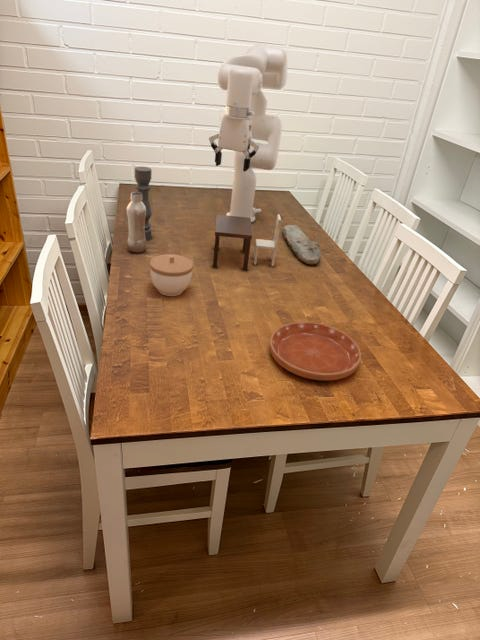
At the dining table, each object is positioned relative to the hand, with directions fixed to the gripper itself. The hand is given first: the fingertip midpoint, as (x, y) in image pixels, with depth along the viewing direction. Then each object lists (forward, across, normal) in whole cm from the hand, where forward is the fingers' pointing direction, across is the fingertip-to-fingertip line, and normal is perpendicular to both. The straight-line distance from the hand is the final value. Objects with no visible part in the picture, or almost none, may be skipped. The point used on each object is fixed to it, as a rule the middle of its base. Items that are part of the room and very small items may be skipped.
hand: (231, 167), depth 158 cm
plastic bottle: (+30, +26, +17) cm, 43 cm away
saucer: (+30, -44, +51) cm, 74 cm away
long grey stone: (+30, -24, -19) cm, 43 cm away
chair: (+30, -16, +2) cm, 34 cm away
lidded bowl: (+30, +3, +37) cm, 48 cm away
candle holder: (+30, +30, +6) cm, 42 cm away
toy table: (+30, -5, +6) cm, 31 cm away
